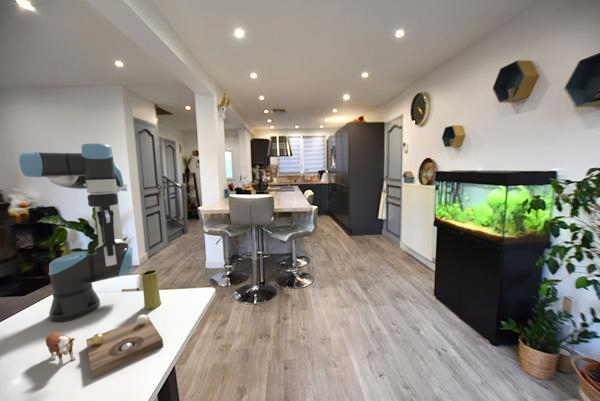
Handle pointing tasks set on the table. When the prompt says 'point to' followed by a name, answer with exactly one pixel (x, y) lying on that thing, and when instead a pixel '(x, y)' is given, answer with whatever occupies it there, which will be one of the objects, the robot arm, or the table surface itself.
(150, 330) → the board
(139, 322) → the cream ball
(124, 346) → the steel ball
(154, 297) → the vase
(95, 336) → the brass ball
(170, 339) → the table surface
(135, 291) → the table surface
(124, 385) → the table surface
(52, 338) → the bull figurine
